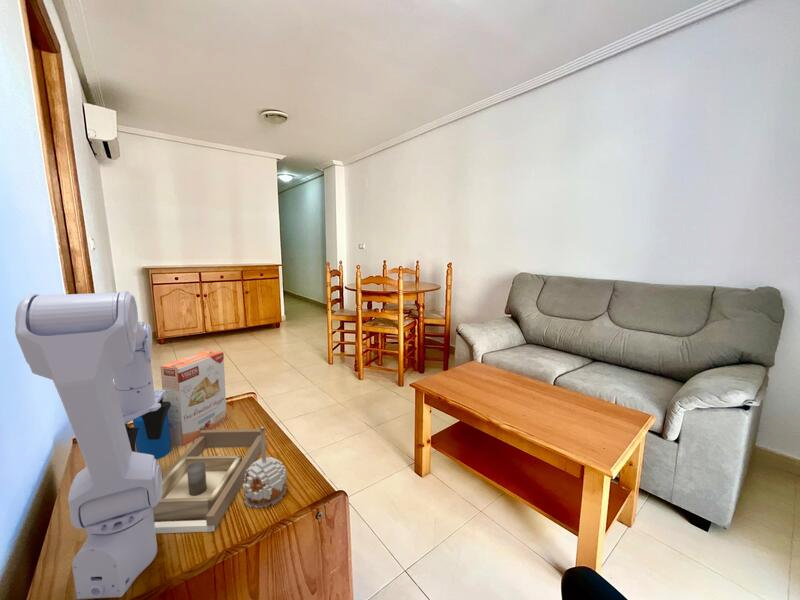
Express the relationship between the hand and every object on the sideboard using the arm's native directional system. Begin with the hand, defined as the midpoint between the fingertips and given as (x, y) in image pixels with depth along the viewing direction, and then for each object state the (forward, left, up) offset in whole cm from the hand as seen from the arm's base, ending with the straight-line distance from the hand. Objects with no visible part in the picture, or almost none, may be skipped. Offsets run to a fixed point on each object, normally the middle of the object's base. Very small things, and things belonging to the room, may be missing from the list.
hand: (141, 449), depth 65 cm
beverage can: (+12, +6, -10) cm, 16 cm away
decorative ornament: (-2, -24, -10) cm, 26 cm away
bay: (+2, -11, -9) cm, 15 cm away
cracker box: (+22, +1, -10) cm, 24 cm away
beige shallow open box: (-2, -11, -8) cm, 14 cm away
